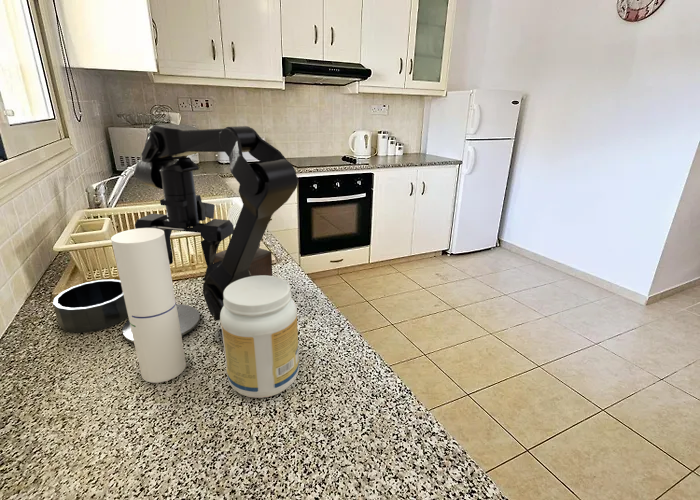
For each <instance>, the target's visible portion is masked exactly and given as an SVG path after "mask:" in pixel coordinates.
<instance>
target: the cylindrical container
mask: <svg viewBox="0 0 700 500" xmlns="http://www.w3.org/2000/svg"><path fill="white" fill-rule="evenodd" d="M110 240H111V245H112V249H113V250H112V251H113V255H114V258H115V263H116V267H117V271H118V277H119V280H120V281H121V286H122V290H123V295H124V299H125V304H126V308H127V313H128V317H127V318H128V320H129V322H130V326H131V331H132V335H133V340H134V344H133V345H134V349H135V353H136V357H137V362H138V366H139V371H140V375H141V378H142V380H144V381H145V382H147V383H153V384H158V383H165V382H168V381H170V380H173V379H175V378H176V377H178V376H180V375H181V374H182V373H183V372H184V371H185V369H186V367H187V361H186V356H185V355H186V354H185V349H184V343H183V342H184V341H183V336H181V330H180V324H179V318H178V312H177V306H176V304H177V301H176V296H175V290H174V283H173V276H172V271H171V270H172V269H171V264H169V258H168V252H167V246H166V240H165V234H164V231H163V230H161V229H157V228H138V229H135V228H133V229H127V230H123V231H119V232H117V233H115V234H113V235H112V236H111V237H110Z"/></svg>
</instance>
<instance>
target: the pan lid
mask: <svg viewBox="0 0 700 500" xmlns="http://www.w3.org/2000/svg"><path fill="white" fill-rule="evenodd" d="M176 306H177V312H178V318H179V324H180V330H181V336H182V337H184V335H187V334H188V333H189V332H191V331H193V330H194V329H195V328H196V326H198V324H199V323H200V319H201V315H200V311H199V310H198V309H196V308H195V307H194V306H191V305H188V304H180V303H176ZM121 330H122V336H123V337H124V339H125V340H127V341H128V342H130V343H134V340H133V335H132V331H131V326H130V322H129V319H128V320H127V321H126V322H125V323H124V325H123V326H122V329H121Z"/></svg>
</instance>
